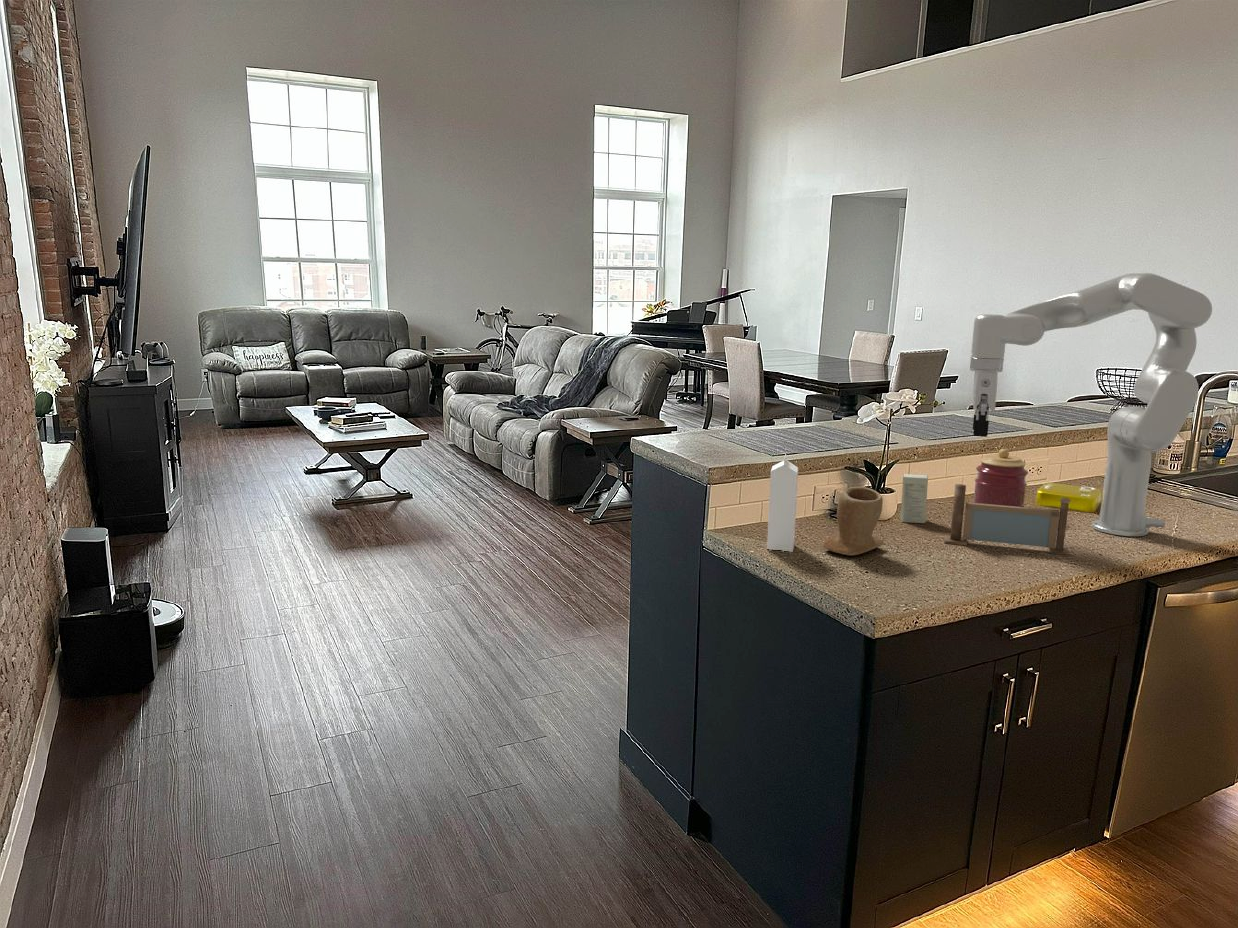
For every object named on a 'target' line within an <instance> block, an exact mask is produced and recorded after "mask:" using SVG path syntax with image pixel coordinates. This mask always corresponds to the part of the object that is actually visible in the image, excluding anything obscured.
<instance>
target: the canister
mask: <svg viewBox="0 0 1238 928" xmlns="http://www.w3.org/2000/svg"><path fill="white" fill-rule="evenodd" d="M980 462H981V464H980V465H977V466H976V467H975V470H976V472H977V477H976V478H975V479H974V481H975V483H974V484H975V485H974V493H973V494H974V495H973V500H972V503H981V504H993V505H1004V506H1016V507H1026V506H1025V498H1026V492H1027V485H1028V483H1027V482H1026V476H1028V475H1029V471H1028V470H1027V469H1025V466H1026V464H1027V463H1026V462H1025V461H1024V460H1022V459H1021V458H1020V457H1018V456H1014V455H1010V452H1009V450H1008V449H1007V448H1002V449H1000V450H999V451H998V453H997V454H988V455H986V456H985V457H982V458H981V459H980Z"/></svg>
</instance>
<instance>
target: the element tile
mask: <svg viewBox="0 0 1238 928" xmlns="http://www.w3.org/2000/svg"><path fill="white" fill-rule="evenodd" d="M1102 494H1103V490H1101V489H1100V488H1095V487H1090V486H1082V485H1081V486H1080V485H1071V484H1064V483H1055V482H1045V483H1044V484H1042V486H1040V487H1039V488H1038V489H1037V490H1036V496H1035V497H1036V498H1035V505H1037V506H1043V507H1049V508H1054V509H1060V507H1061V501H1060V498H1069V499H1070V503H1069V506H1068V511H1069V510H1070V511H1076V512H1083V513H1084V512H1085V513H1095V512H1096V510H1097V509H1098V508H1099V506H1101V501H1102Z"/></svg>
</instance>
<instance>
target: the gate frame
mask: <svg viewBox="0 0 1238 928" xmlns="http://www.w3.org/2000/svg"><path fill="white" fill-rule="evenodd" d="M966 489H967V485H966V484H961V483H957V484H954V493H953V502H952V503H953V507H952V515H951V516H952V517H951V527H950V535H943V540H944V544H947V545H955V546H957V545H958V546H966V547H967V546H968V541H967V540H965V539H963V536H962V534H963V523H964V520H963V519H964V513H965V510H964V509H965V503H966V492H967V491H966ZM1060 501H1061V507H1060V508H1059V512H1060V513H1059V521H1058V529H1057V537H1056V546H1055V548H1048V547H1047V548H1048V550H1049V552H1050V553H1049V554H1051V553H1055V555H1061V554H1066V555H1065V556H1071V552H1070V550H1069V549H1068V547H1064V546H1065V545H1064V544H1065V537H1066V532H1067V531H1066V530H1067V523H1068V521H1067V520H1068V513H1069V510H1068V506H1069V503H1070V499H1069V498H1060Z"/></svg>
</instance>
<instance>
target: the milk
mask: <svg viewBox="0 0 1238 928" xmlns="http://www.w3.org/2000/svg"><path fill="white" fill-rule="evenodd" d="M798 478H799V467H798V466H796V465H795V464H793V463H792V462H790V461H789V460H787V453H785V455H784V458H783V460H782V461H780V462H778V463H776V464H774V465H772V467H771V469H770V479H769V499H768V500H769V501H768V519H767V520H768V522H767V539H766V541H767V542H766V543H767V544H766V550H767V549H773V550H782V551H781V552H784V551H789V552H788V553H793V552H794V548H795V547H794V546H795V535H796V533H795V531H796V514H797V499H798V495H797V494H798V481H799V480H798Z"/></svg>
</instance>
